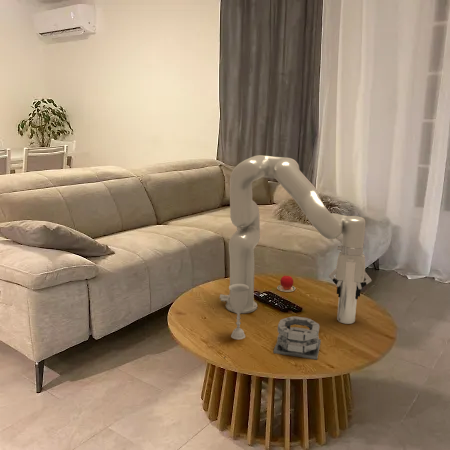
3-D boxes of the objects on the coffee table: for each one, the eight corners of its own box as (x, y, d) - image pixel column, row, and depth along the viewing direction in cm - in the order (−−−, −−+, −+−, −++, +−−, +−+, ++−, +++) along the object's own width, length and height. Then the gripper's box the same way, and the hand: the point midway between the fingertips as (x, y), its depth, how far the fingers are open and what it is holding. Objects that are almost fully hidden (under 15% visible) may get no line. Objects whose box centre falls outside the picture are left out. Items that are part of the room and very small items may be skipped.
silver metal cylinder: (355, 324, 173) (361, 260, 167) (337, 323, 174) (342, 258, 168) (354, 317, 179) (359, 254, 173) (336, 315, 180) (341, 253, 174)
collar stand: (273, 353, 152) (274, 331, 150) (280, 335, 164) (281, 314, 162) (316, 360, 148) (318, 337, 146) (320, 341, 161) (322, 319, 159)
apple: (274, 286, 210) (275, 272, 208) (291, 285, 212) (291, 271, 210) (280, 293, 202) (281, 279, 201) (298, 291, 204) (298, 277, 203)
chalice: (241, 342, 159) (242, 293, 155) (224, 337, 163) (224, 288, 158) (251, 334, 165) (252, 286, 161) (235, 329, 169) (235, 282, 164)
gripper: (327, 250, 169) (323, 297, 173) (377, 255, 164) (372, 303, 169) (328, 245, 176) (325, 290, 180) (376, 249, 171) (372, 296, 175)
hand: (348, 296), depth 174 cm, fingers closed on silver metal cylinder, 5 cm apart
